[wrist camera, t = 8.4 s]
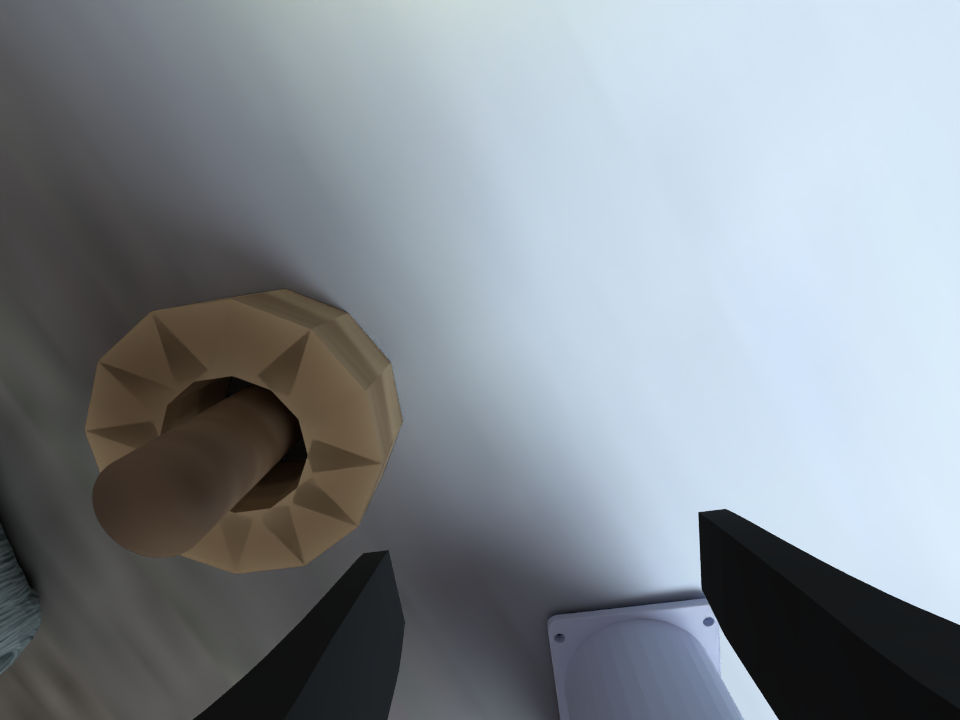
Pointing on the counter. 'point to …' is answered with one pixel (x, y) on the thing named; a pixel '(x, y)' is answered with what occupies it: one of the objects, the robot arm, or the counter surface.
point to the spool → (15, 607)
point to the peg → (193, 473)
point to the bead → (293, 379)
